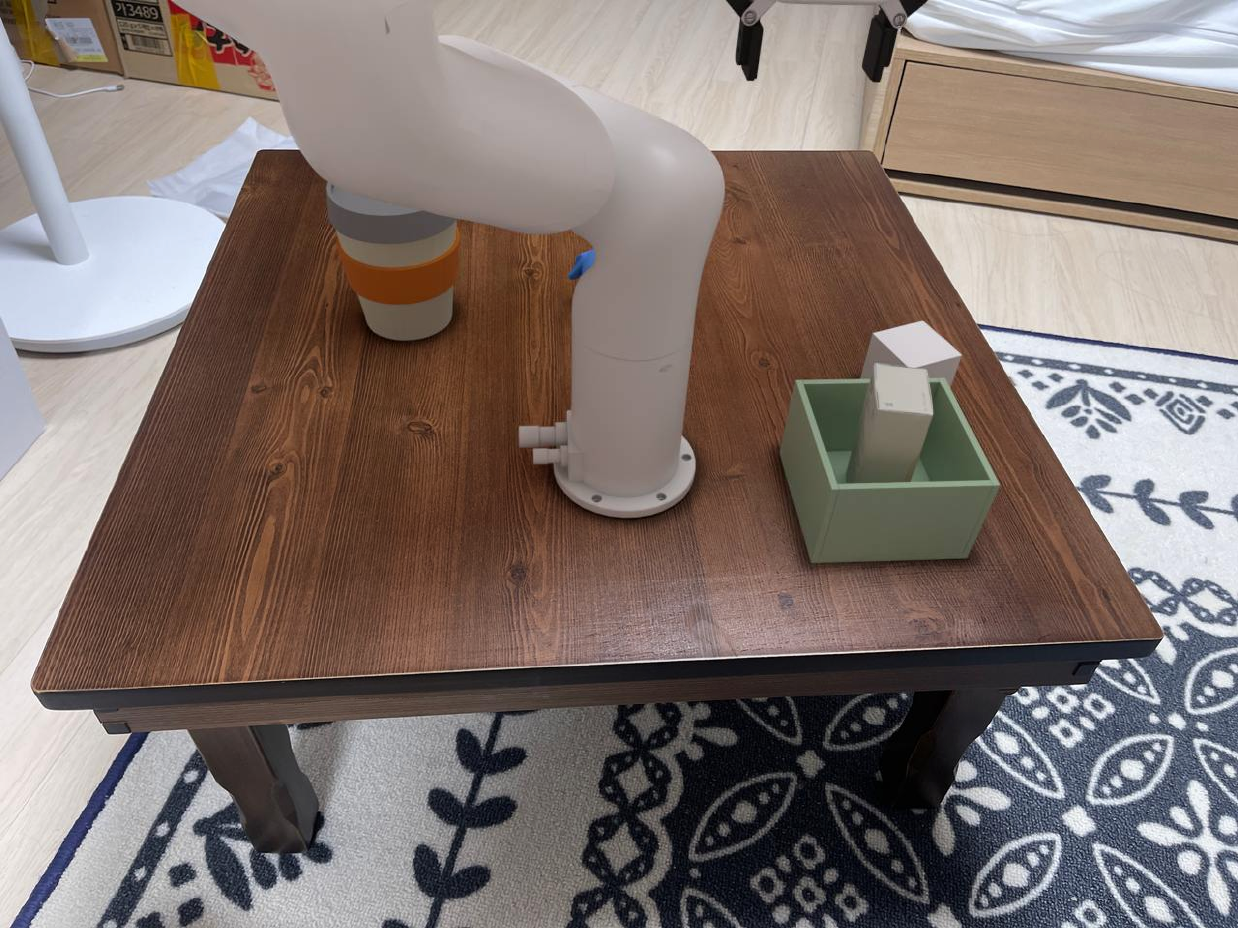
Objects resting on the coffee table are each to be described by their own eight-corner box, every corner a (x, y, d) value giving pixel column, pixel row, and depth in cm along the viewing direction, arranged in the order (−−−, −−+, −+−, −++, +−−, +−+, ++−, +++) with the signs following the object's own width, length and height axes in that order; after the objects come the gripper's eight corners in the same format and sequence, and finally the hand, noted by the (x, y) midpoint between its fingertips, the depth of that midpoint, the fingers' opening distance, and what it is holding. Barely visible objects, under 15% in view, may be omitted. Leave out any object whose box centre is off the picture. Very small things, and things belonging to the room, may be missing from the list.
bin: (810, 563, 76) (831, 489, 70) (779, 453, 86) (795, 379, 80) (967, 558, 77) (1000, 485, 71) (918, 450, 87) (944, 377, 81)
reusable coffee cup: (324, 314, 98) (296, 182, 88) (419, 270, 105) (403, 142, 95) (398, 367, 92) (377, 232, 82) (493, 316, 99) (485, 185, 89)
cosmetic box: (897, 527, 79) (936, 418, 70) (844, 519, 79) (876, 410, 71) (893, 476, 83) (930, 367, 75) (843, 469, 83) (874, 360, 75)
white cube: (907, 368, 96) (923, 320, 91) (944, 404, 92) (962, 354, 88) (858, 382, 94) (872, 332, 90) (894, 418, 90) (910, 368, 86)
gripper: (735, -186, 57) (705, 94, 69) (1008, -176, 58) (933, 96, 70) (716, -207, 62) (692, 55, 74) (967, -198, 64) (904, 58, 76)
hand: (809, 75), depth 72 cm, fingers open, 9 cm apart
